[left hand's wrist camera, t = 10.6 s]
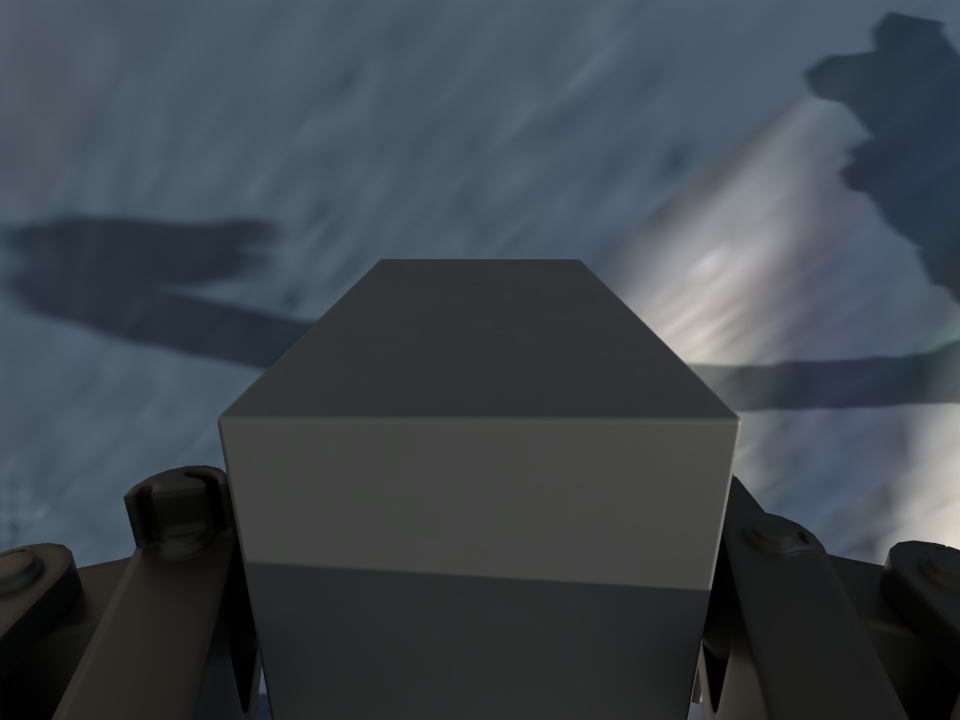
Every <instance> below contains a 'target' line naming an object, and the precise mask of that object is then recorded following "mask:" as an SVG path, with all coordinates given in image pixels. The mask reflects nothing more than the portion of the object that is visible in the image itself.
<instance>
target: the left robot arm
mask: <svg viewBox="0 0 960 720" xmlns="http://www.w3.org/2000/svg"><path fill="white" fill-rule="evenodd" d="M124 501H125V505H126V509H127V512H128V516H129V520H130V524H131V527H132V531H133V535H134V539H135V543H136V546H137V548H136V550H135V552H134V554H133V556H132V557H129V558H125V559H121V560H116V561H111V562H106V563H101V564H96V565H92V566H87V567H82V568H76V564H75V561H74V558H73V555H72V552H71V551H70V550H69V549H68V548H66V547H65V546H64V545H59V544H52V543H43V544H35V545H26V546H22V547H18V548H16V549H11V550H8V551H5V552H2V553H0V720H255V716H256V708H257V700H258V693H259V685H260V677H261V670H262V662H261V657H260V652H259V646H258V641H257V635H256V630H255V624H254V619H253V613H252V608H251V603H250V597H249V592H248V586H247V581H246V575H245V570H244V564H243V559H242V554H241V548H240V543H239V537H238V532H237V526H236V521H235V515H234V510H233V505H232V499H231V494H230V488H229V483H228V477H227V474H226V473H225V472H223V471H222V470H221V469H220V468H215V467H210V466H206V465H205V466H186V467H181V468H176V469H171V470H167V471H165V472H162V473H159V474H157V475H154V476H151V477H149V478H147V479H146V480H144V481H142V482H141V483H139V484H137V485H136V486H134V487H133V488H132V489H131V490H130V491H129V492H128V493H127V494H126V495H125V496H124ZM701 692H702V699H703V707H704V715H705V720H960V550H958V549H955V548H952V547H949V546H948V547H946V546H945V545H942V544H937V543H930V542H922V541H914V540H913V541H906V542H899V543H897V544H896V545H894V546H893V547H892V548H891V549H890V550H889V553H888V557H887V560H886V563H885V566H881V565H876V564H871V563H866V562H861V561H857V560H852V559H847V558H842V557H838V556H834V555H830V554H827V553H826V551H825V549H824V547H823V545H822V544H821V543H820V542H819V540H818V539H817V538H816V537H815V535H814V534H812V533H811V532H809V531H808V530H807V529H805V528H804V527H802V526H801V525H799V524H797V523H795V522H793V521H790V520H788V519H786V518H784V517H781V516H777V515H773V514H769V513H765V512H764V510H763V509H762V508H761V507H760V505H759V504H758V503H757V502H756V501H755V499H754V498H753V497H752V496H751V494H750V493H749V492H748V491H747V489H746V488H745V487H744V486H743V484H742V483H741V482H740V481H739V480H738V478H737V477H734V473H732V479H731V484H730V490H729V495H728V501H727V506H726V511H725V517H724V522H723V528H722V533H721V539H720V544H719V549H718V555H717V560H716V566H715V571H714V577H713V582H712V587H711V593H710V598H709V604H708V609H707V615H706V620H705V625H704V631H703V636H702V643H701V649H700V654H699V660H698V665H697V670H696V676H695V681H694V687H693V693H692V701H691V702H694V703H698V704H699V701H700V696H701Z"/></svg>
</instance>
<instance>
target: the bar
mask: <svg viewBox="0 0 960 720" xmlns="http://www.w3.org/2000/svg"><path fill="white" fill-rule="evenodd" d="M218 428H219V434H220V439H221V445H222V450H223V455H224V461H225V466H226V472H227V477H228V483H229V488H230V494H231V499H232V505H233V510H234V515H235V521H236V526H237V532H238V537H239V543H240V548H241V554H242V559H243V564H244V570H245V575H246V581H247V586H248V592H249V597H250V603H251V608H252V613H253V619H254V624H255V630H256V635H257V641H258V646H259V652H260V657H261V662H262V668H263V673H264V679H265V684H266V690H267V695H268V701H269V706H270V711H271V717H272V720H687V718H688V712H689V707H690V701H691V696H692V691H693V685H694V680H695V674H696V669H697V663H698V658H699V653H700V647H701V642H702V636H703V631H704V625H705V620H706V615H707V609H708V604H709V598H710V593H711V587H712V582H713V577H714V571H715V566H716V560H717V555H718V549H719V544H720V539H721V533H722V528H723V522H724V517H725V511H726V506H727V501H728V495H729V490H730V484H731V479H732V473H733V468H734V462H735V457H736V452H737V446H738V441H739V435H740V430H741V419H740V417H739V416H738V415H737V414H736V413H735V412H734V411H733V410H732V409H731V408H730V407H729V406H728V405H727V404H726V403H725V402H724V401H723V400H722V399H721V398H720V397H719V396H718V395H717V394H716V393H715V392H714V391H713V390H712V389H711V388H710V387H709V386H708V385H707V384H706V383H705V382H704V381H703V380H702V379H701V378H700V377H699V376H698V375H697V374H696V373H695V372H694V371H693V370H692V369H691V368H690V367H688V366H687V365H686V364H685V363H684V362H683V361H682V360H681V359H680V358H679V357H678V356H677V355H676V354H675V353H674V352H673V351H672V350H671V349H670V348H669V347H668V346H667V345H666V344H665V343H664V342H663V341H662V340H661V339H660V338H659V337H658V336H657V335H656V334H655V333H654V332H653V331H652V330H651V329H650V328H649V327H648V326H647V325H646V324H645V323H644V322H643V321H642V320H641V319H640V318H639V317H638V316H637V315H636V314H635V313H634V312H633V311H632V310H631V309H630V308H629V307H628V306H627V305H626V304H625V303H624V302H623V301H622V300H621V299H620V298H619V297H618V296H617V295H616V294H615V293H614V292H613V291H612V290H611V289H610V288H609V287H608V286H607V285H606V284H605V283H604V282H602V281H601V280H600V279H599V278H598V277H597V276H596V275H595V274H594V273H593V272H592V271H591V270H590V269H589V268H588V267H587V266H586V265H585V264H584V263H583V262H582V261H581V260H461V259H382V260H380V261H379V262H378V263H377V264H376V265H375V266H374V267H373V268H372V269H371V270H370V271H369V272H368V273H367V274H365V275H364V276H363V277H362V278H361V279H360V280H359V281H358V282H357V283H356V284H355V285H354V286H353V287H352V288H351V289H350V290H349V291H348V292H347V293H346V294H345V295H344V296H343V297H342V298H341V299H340V300H339V301H338V302H337V303H336V304H335V305H334V306H333V307H332V308H330V309H329V310H328V311H327V312H326V313H325V314H324V315H323V316H322V317H321V318H320V319H319V320H318V321H317V322H316V323H315V324H314V325H313V326H312V327H311V328H310V329H309V330H308V331H307V332H306V333H305V334H304V335H303V336H302V337H301V338H300V339H299V340H298V341H297V342H295V343H294V344H293V345H292V346H291V347H290V348H289V349H288V350H287V351H286V352H285V353H284V354H283V355H282V356H281V357H280V358H279V359H278V360H277V361H276V362H275V363H274V364H273V365H272V366H271V367H270V368H269V369H268V370H267V371H266V372H265V373H264V374H263V375H262V376H260V377H259V378H258V379H257V380H256V381H255V382H254V383H253V384H252V385H251V386H250V387H249V388H248V389H247V390H246V391H245V392H244V393H243V394H242V395H241V396H240V397H239V398H238V399H237V400H236V401H235V402H234V403H233V404H232V405H231V406H230V407H229V408H228V409H227V410H225V411H224V412H223V413H222V414H221V415H220V416H219V419H218Z"/></svg>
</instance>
